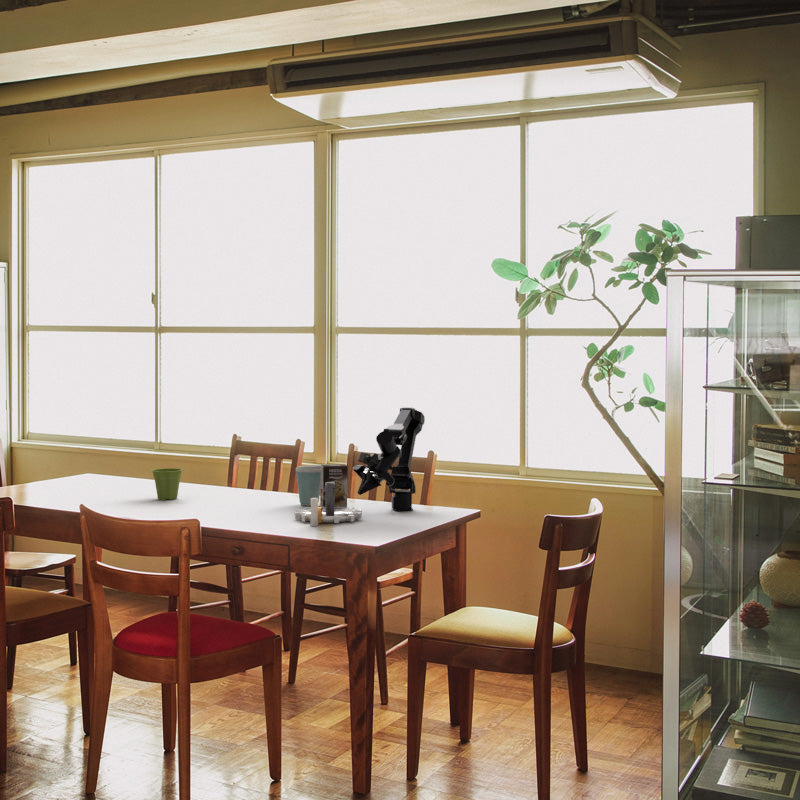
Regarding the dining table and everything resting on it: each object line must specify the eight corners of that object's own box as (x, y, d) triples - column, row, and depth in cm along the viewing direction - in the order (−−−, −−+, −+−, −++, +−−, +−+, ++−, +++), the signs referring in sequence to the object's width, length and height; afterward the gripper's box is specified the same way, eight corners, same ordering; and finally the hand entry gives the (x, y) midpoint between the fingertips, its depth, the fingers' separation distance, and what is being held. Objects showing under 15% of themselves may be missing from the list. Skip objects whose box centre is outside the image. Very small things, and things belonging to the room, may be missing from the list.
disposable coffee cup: (289, 505, 360) (289, 465, 359) (305, 501, 370) (305, 462, 369) (313, 508, 355) (313, 467, 354) (329, 504, 365) (329, 464, 364)
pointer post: (317, 524, 321) (317, 497, 321) (318, 526, 319) (318, 498, 318) (310, 525, 321) (310, 498, 320) (311, 526, 318) (311, 499, 318)
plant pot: (187, 496, 380) (187, 468, 379) (177, 501, 368) (177, 471, 368) (157, 496, 381) (157, 467, 381) (147, 500, 369) (146, 471, 369)
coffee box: (322, 510, 349) (323, 466, 348) (319, 508, 355) (320, 464, 355) (347, 510, 351) (348, 465, 351) (344, 507, 358) (344, 463, 357)
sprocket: (369, 513, 342) (369, 476, 341) (352, 524, 319) (352, 485, 319) (306, 510, 347) (306, 474, 346) (285, 521, 324) (285, 482, 324)
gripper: (357, 441, 340) (330, 475, 335) (387, 446, 325) (359, 481, 319) (376, 462, 345) (350, 496, 340) (406, 468, 330) (379, 503, 324)
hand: (358, 493), depth 331 cm, fingers closed
